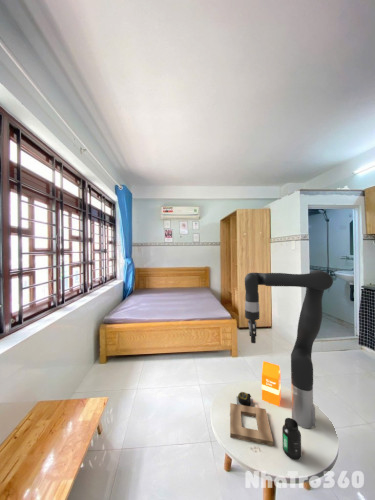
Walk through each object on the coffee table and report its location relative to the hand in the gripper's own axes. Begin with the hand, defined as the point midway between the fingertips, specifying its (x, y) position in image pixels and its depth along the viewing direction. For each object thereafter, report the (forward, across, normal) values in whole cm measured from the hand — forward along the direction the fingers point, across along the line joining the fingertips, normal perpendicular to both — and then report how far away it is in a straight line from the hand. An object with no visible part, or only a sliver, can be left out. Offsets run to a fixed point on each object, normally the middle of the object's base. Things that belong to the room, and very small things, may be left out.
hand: (252, 339), depth 104 cm
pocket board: (+36, +11, -3) cm, 38 cm away
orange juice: (+36, -9, +11) cm, 39 cm away
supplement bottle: (+36, +21, +13) cm, 44 cm away
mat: (+36, -2, -4) cm, 36 cm away
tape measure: (+36, -2, -4) cm, 36 cm away
